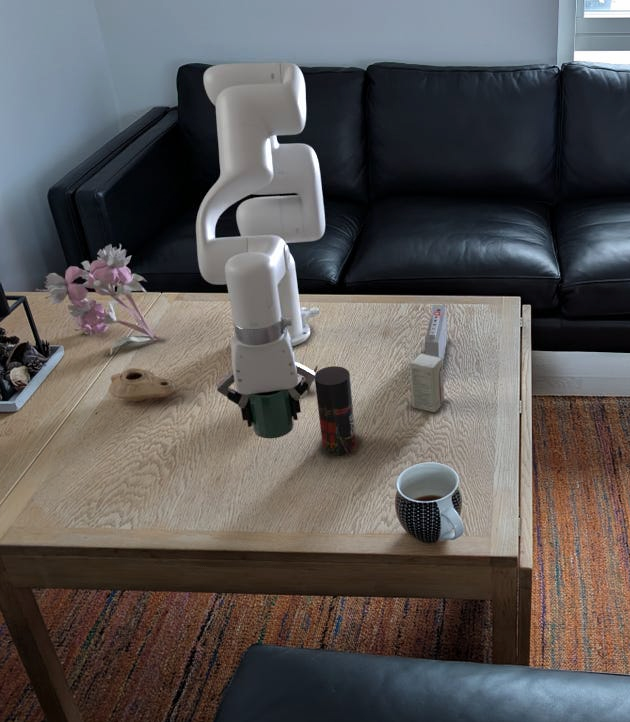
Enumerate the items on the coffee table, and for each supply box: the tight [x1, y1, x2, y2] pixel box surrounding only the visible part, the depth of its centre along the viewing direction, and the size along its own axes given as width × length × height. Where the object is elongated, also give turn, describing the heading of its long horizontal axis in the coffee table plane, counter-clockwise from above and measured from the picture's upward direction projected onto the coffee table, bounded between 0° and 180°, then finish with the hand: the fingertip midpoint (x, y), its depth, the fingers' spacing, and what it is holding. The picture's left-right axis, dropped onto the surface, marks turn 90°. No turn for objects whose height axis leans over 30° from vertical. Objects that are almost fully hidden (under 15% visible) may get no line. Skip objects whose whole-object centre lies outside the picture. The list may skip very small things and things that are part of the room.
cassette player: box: [424, 304, 448, 359], centre depth 172 cm, size 16×3×10 cm, turn 176°
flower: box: [35, 243, 161, 355], centre depth 177 cm, size 20×22×25 cm
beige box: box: [409, 352, 445, 413], centre depth 158 cm, size 5×4×10 cm
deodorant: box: [314, 365, 357, 457], centre depth 146 cm, size 6×6×15 cm
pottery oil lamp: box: [108, 368, 176, 403], centre depth 160 cm, size 9×12×7 cm
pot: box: [248, 389, 295, 440], centre depth 141 cm, size 7×7×8 cm
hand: (272, 418), depth 143 cm, fingers closed on pot, 7 cm apart
